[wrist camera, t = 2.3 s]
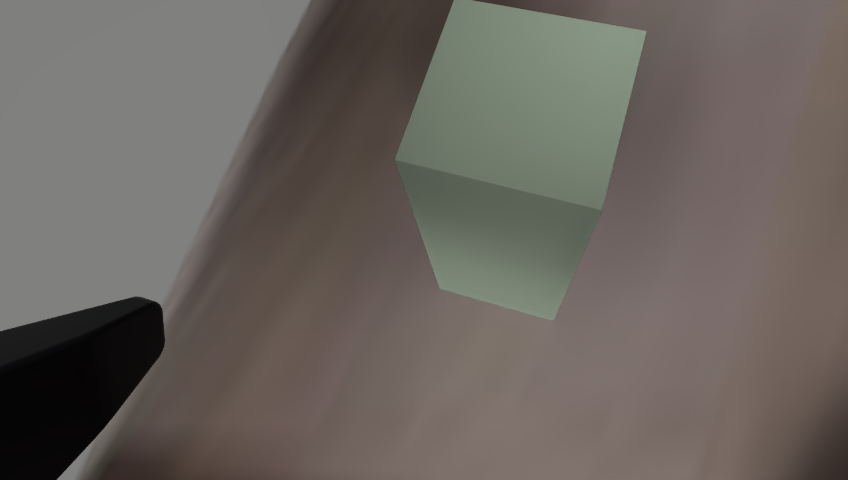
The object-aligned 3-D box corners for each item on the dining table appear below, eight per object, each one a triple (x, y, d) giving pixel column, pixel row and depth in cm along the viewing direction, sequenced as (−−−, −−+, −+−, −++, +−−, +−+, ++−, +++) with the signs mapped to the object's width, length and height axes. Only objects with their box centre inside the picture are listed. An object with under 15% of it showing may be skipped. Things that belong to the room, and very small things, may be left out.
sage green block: (552, 321, 22) (602, 209, 12) (439, 288, 23) (394, 159, 13) (580, 214, 24) (646, 31, 13) (472, 187, 24) (454, -3, 14)
